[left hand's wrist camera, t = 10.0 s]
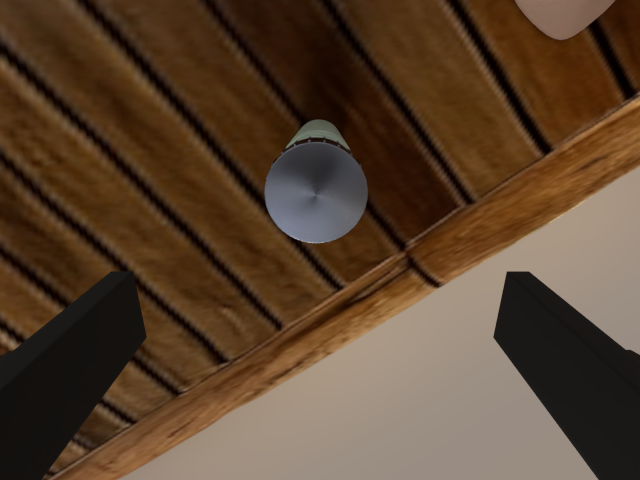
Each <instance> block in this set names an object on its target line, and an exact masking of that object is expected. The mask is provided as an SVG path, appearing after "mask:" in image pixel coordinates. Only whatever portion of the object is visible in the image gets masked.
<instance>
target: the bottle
mask: <svg viewBox="0 0 640 480" xmlns="http://www.w3.org/2000/svg"><path fill="white" fill-rule="evenodd" d="M310 136H311V138H312V137H321V138H323V137H325V138H327V139H330V140H333V141H338V142H339V144H341V145H343V146H344V147H345V148H346V149H349V147H348V146H347V144H346V142H345V141H344V139H343V138H342V136H341V134H340V133H339V131H338V130H337V128H336V127H335V126H334V125H333V124H331V123H330V122H328V121H325V120H313V121H310V122H308V123H306V124H305V125H304V126H303V127H302V128H301V129H300V130H299V132H298V133H297V134H296V135H295V137H294V138H293V139H292V140H291V142H290V143H289V144H288V145H287V147H286V148H288V147H289V146H290V145H292V144H293V143H295V141H296V140H298V141H300V140H302V139H306V138H309V137H310Z"/></svg>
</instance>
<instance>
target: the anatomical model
mask: <svg viewBox="0 0 640 480" xmlns="http://www.w3.org/2000/svg"><path fill="white" fill-rule="evenodd" d="M614 1H615V0H515V2H516V3H517V5H518V7H519V8H520V9H521V11H522V12H523V13H524V14H525V16H526V17H527V18H528V19H529V20H530V21H531V22H532V23H533V24H534V25H535V26H536V27H537V28H538V29H540V30H541V31H542V32H544V33H545V34H546V35H548V36H550V37H551V38H554V39H558V40H564V39H568V38H570V37H572V36H574V35H576V34H577V33H579V32H580V31H581V30H583V29H584V28H585V27H587V26H588V25H589V24H590V23H591V22H593V21H594V20H595V19H596V18H597V17H599V16H600V15H601V14H602V13H603V12H604V11H605V10H606V9H607V8H608V7H609V6H610V5H611V4H612V3H613V2H614Z"/></svg>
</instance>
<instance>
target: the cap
mask: <svg viewBox="0 0 640 480" xmlns="http://www.w3.org/2000/svg"><path fill="white" fill-rule="evenodd" d="M271 165H272V167H271V169H270V170H269V173H268V175H267V176H266V182H265V189H264V194H265V203H266V206H267V210H268V212H269V214H270V216H271V218H272V219H273V221H274V222H275V224H276V225H277V226H278V227H279V228H280V229H281V230H282V231H283V232H285V233H286V234H287V235H289V236H291V237H293V238H295V239H297V240H300V241H304V242H309V243H324V242H329V241H332V240H335V239H338V238H340V237H342V236H343V235H345V234H346V233H348V232H349V231H350V230H351V229H352V228H353V227H354V226H355V225H356V224H357V223H358V221H359V220H360V218H361V216H362V214H363V213H364V210H365V207H366V203H367V195H368V191H367V183H366V180H367V179H366V177H365V175H364V173H363V171H362V169H361V164H360V163H359V161H358V160H357V159H355V158H354V156H353V155H352V153H351V151H350V149H346V148H345V147H344V146H343V145H341V144H339V142H338V141H333V140H330V139H327V138H325V137H323V138H321V137H312V138H311V136H310V137H309V138H306V139H302V140H300V141H298V140H296V141H295V143H293V144H292V145H290V146H289V147H288V148H286V147H285V148H284V150H283V151H282V152H281V155H280V156H279V157H278V158H276V159H275V160H274V162H273V163H272V164H271Z"/></svg>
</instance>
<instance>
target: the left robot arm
mask: <svg viewBox="0 0 640 480" xmlns="http://www.w3.org/2000/svg"><path fill="white" fill-rule="evenodd" d="M145 339H146V332H145V327H144V322H143V318H142V313H141V308H140V303H139V298H138V293H137V289H136V284H135V279H134V274H133V272H110V273H109V274H108V275H106V276H105V277H104V278H103V279H101V280H100V281H99V282H98V283H96V284H95V285H94V286H93V287H92V288H90V289H89V290H88V291H87V292H85V293H84V294H83V295H82V296H80V297H79V298H78V299H77V300H75V301H74V302H73V303H72V304H71V305H69V306H68V307H67V308H66V309H64V310H63V311H62V312H61V313H59V314H58V315H57V316H56V317H54V318H53V319H52V320H51V321H49V322H48V323H47V324H46V325H45V326H43V327H42V328H41V329H40V330H38V331H37V332H36V333H35V334H33V335H32V336H31V337H30V338H28V339H27V340H26V341H25V342H24V343H22V344H21V345H20V346H19V347H17V348H16V349H15V350H14V351H10V352H8V353H6V354H4V355H2V356H0V480H42V478H43V477H44V475H45V474H46V473H47V471H48V470H49V469H50V467H51V466H52V465H53V463H54V462H55V461H56V459H57V458H58V457H59V455H60V454H61V452H62V451H63V450H64V448H65V447H66V446H67V444H68V443H69V442H70V440H71V439H72V438H73V436H74V435H75V434H76V432H77V431H78V429H79V428H80V427H81V425H82V424H83V423H84V421H85V420H86V419H87V417H88V416H89V415H90V413H91V412H92V411H93V409H94V408H95V406H96V405H97V404H98V402H99V401H100V400H101V398H102V397H103V396H104V394H105V393H106V392H107V390H108V389H109V388H110V386H111V385H112V383H113V382H114V381H115V379H116V378H117V377H118V375H119V374H120V373H121V371H122V370H123V369H124V367H125V366H126V365H127V363H128V362H129V360H130V359H131V358H132V356H133V355H134V354H135V352H136V351H137V350H138V348H139V347H140V346H141V344H142V343H143V342H144V340H145ZM494 339H495V340H496V342H497V343H498V344H499V346H500V347H501V348H502V350H503V351H504V352H505V354H506V355H507V356H508V358H509V359H510V360H511V362H512V363H513V365H514V366H515V367H516V369H517V370H518V371H519V373H520V374H521V375H522V377H523V378H524V379H525V381H526V382H527V383H528V385H529V386H530V387H531V389H532V390H533V392H534V393H535V394H536V396H537V397H538V398H539V400H540V401H541V402H542V404H543V405H544V406H545V408H546V409H547V411H548V412H549V413H550V415H551V416H552V417H553V419H554V420H555V421H556V423H557V424H558V425H559V427H560V428H561V429H562V431H563V432H564V434H565V435H566V436H567V438H568V439H569V440H570V442H571V443H572V444H573V446H574V447H575V448H576V450H577V451H578V452H579V454H580V455H581V456H582V458H583V459H584V461H585V462H586V463H587V465H588V466H589V467H590V469H591V470H592V471H593V473H594V474H595V475H596V477H597V478H598V480H640V355H639V354H637V353H635V352H633V351H631V350H625V349H624V348H623V347H621V346H620V345H619V344H618V343H616V342H615V341H614V340H613V339H612V338H610V337H609V336H608V335H607V334H605V333H604V332H603V331H601V330H600V329H599V328H598V327H597V326H595V325H594V324H593V323H592V322H590V321H589V320H588V319H587V318H585V317H584V316H583V315H582V314H581V313H579V312H578V311H577V310H576V309H574V308H573V307H572V306H571V305H569V304H568V303H567V302H566V301H565V300H563V299H562V298H561V297H560V296H558V295H557V294H556V293H555V292H553V291H552V290H551V289H550V288H548V287H547V286H546V285H545V284H544V283H542V282H541V281H540V280H539V279H537V278H536V277H535V276H533V275H532V274H531V273H530V272H507V274H506V279H505V284H504V289H503V293H502V298H501V303H500V308H499V313H498V318H497V322H496V327H495V332H494Z"/></svg>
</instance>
